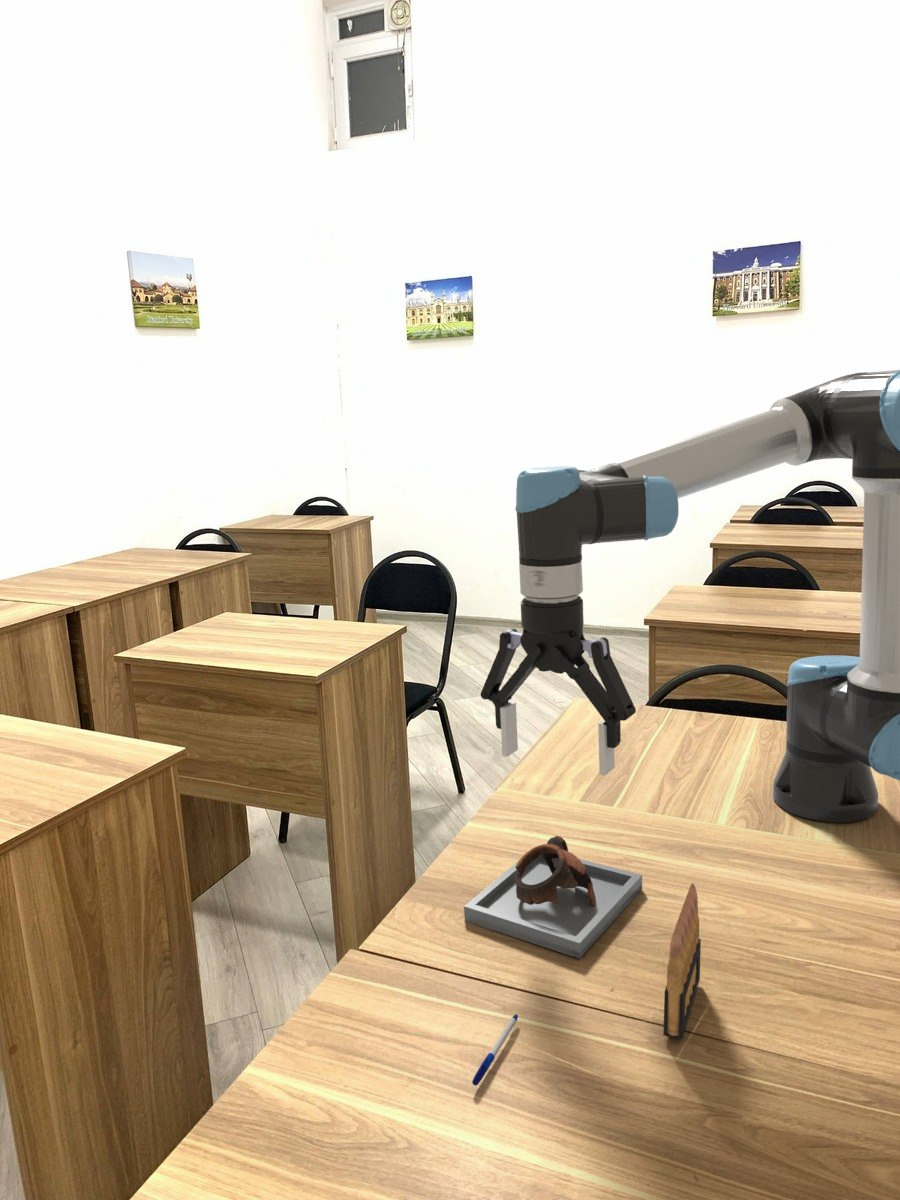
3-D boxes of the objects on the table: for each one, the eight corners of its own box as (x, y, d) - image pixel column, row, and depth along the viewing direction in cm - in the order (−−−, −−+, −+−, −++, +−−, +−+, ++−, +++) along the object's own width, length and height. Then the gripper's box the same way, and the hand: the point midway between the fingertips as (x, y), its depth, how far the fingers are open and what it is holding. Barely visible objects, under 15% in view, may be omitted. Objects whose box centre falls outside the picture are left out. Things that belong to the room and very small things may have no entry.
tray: (642, 889, 121) (642, 875, 120) (579, 958, 106) (579, 943, 106) (535, 860, 130) (535, 846, 129) (464, 920, 115) (464, 906, 115)
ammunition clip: (681, 1041, 92) (684, 935, 90) (663, 1036, 93) (665, 931, 90) (699, 978, 102) (703, 880, 99) (682, 974, 103) (685, 877, 100)
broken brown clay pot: (604, 923, 113) (573, 879, 110) (535, 947, 116) (503, 904, 112) (597, 853, 123) (569, 810, 120) (534, 876, 126) (505, 835, 123)
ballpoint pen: (479, 1088, 87) (479, 1079, 87) (471, 1086, 88) (470, 1077, 87) (519, 1019, 97) (518, 1011, 96) (511, 1017, 97) (510, 1009, 97)
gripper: (448, 595, 115) (457, 755, 119) (636, 610, 101) (639, 791, 106) (480, 584, 121) (488, 736, 126) (661, 597, 107) (663, 768, 112)
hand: (557, 762), depth 116 cm, fingers open, 13 cm apart
